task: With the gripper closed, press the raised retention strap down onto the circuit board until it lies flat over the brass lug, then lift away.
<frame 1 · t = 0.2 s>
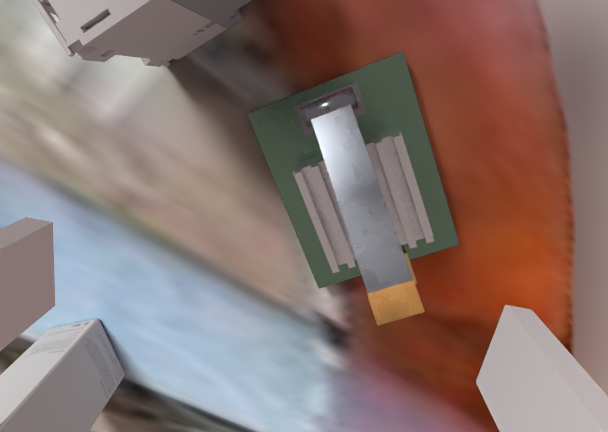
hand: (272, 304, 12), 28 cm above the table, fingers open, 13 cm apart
strap: (360, 199, 28), point 11 cm above the table, hinge at 30.0°
circuit board: (355, 176, 39), on the table
skincare box: (92, 350, 47), on the table
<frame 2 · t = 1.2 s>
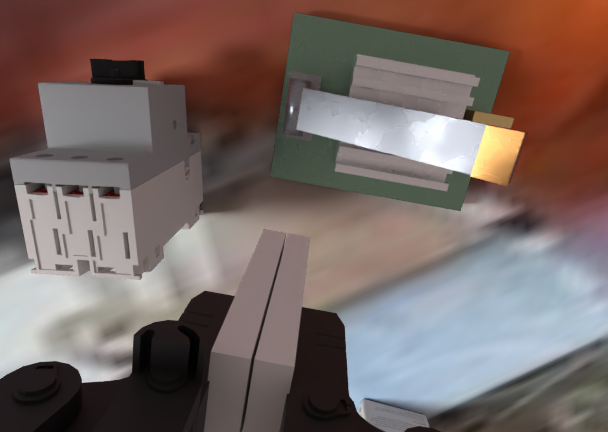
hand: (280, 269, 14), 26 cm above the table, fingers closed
strap: (385, 128, 27), point 11 cm above the table, hinge at 30.0°
circuit board: (379, 116, 38), on the table
skincare box: (386, 422, 49), on the table
circuit breaker: (163, 141, 40), on the table
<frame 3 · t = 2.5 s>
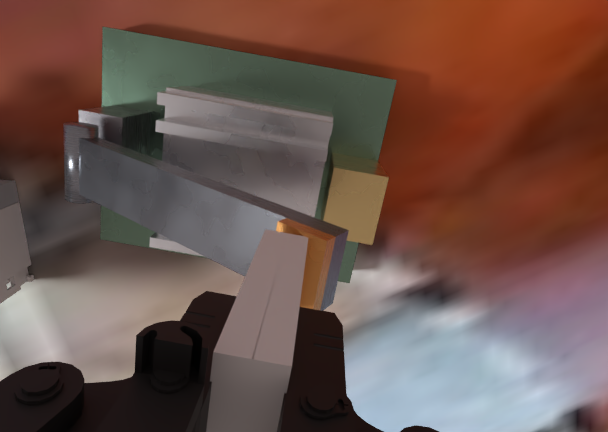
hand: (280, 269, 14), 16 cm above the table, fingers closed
strap: (174, 204, 18), point 11 cm above the table, hinge at 29.8°, touching gripper
circuit board: (242, 160, 29), on the table
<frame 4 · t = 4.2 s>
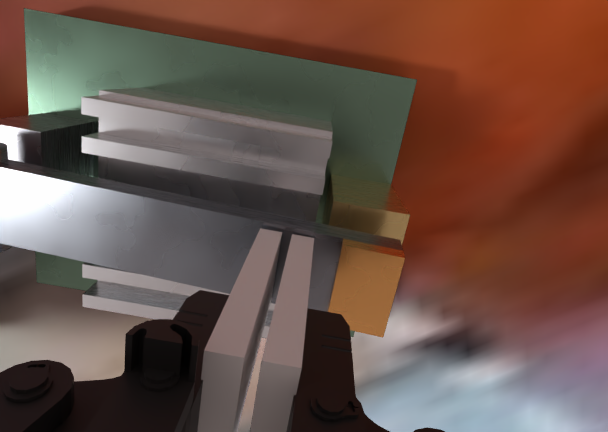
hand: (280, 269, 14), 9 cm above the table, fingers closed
strap: (168, 238, 15), point 8 cm above the table, hinge at 4.9°, touching gripper
circuit board: (217, 181, 23), on the table
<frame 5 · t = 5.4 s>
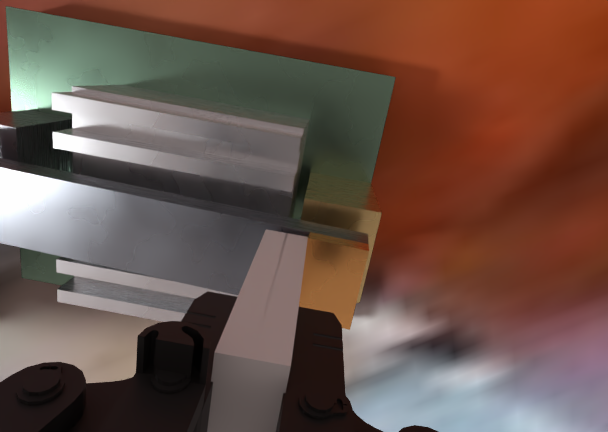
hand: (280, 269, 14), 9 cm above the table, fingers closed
strap: (140, 232, 15), point 8 cm above the table, hinge at 3.4°, touching gripper
circuit board: (199, 179, 23), on the table
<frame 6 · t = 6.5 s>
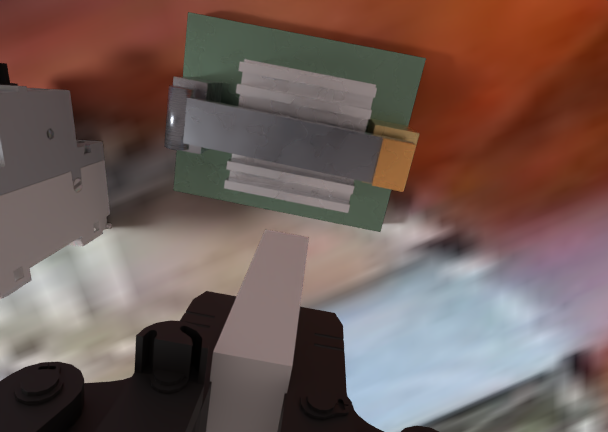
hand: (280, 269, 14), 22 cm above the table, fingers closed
strap: (284, 140, 27), point 8 cm above the table, hinge at 3.4°
circuit board: (293, 126, 35), on the table
circuit breaker: (64, 149, 37), on the table
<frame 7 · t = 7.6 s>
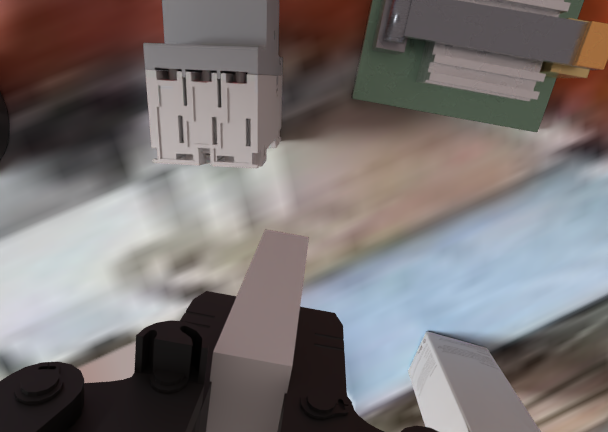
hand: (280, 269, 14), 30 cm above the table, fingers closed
strap: (495, 30, 31), point 8 cm above the table, hinge at 3.4°
circuit board: (460, 39, 39), on the table
skincare box: (448, 356, 51), on the table
circuit breaker: (245, 67, 41), on the table
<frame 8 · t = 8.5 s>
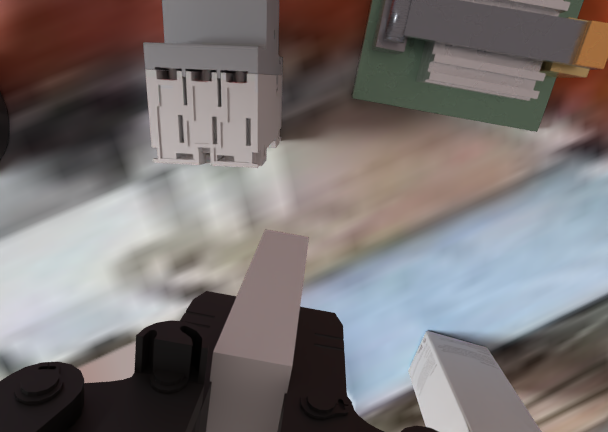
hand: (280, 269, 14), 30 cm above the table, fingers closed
strap: (495, 29, 31), point 8 cm above the table, hinge at 3.4°
circuit board: (459, 38, 39), on the table
skincare box: (448, 356, 51), on the table
circuit breaker: (245, 67, 41), on the table
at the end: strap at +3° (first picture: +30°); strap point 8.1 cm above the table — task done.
